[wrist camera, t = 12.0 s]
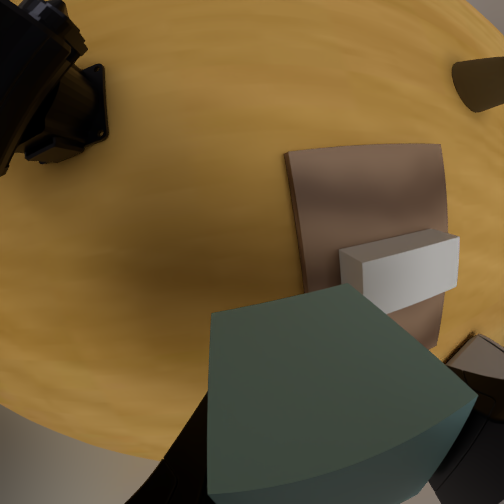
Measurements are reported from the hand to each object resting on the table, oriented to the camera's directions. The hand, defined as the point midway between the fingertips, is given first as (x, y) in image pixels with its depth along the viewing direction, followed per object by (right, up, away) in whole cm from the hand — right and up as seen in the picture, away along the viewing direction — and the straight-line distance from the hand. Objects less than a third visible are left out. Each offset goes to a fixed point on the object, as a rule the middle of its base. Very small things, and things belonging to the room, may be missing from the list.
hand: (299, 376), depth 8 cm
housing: (+9, +3, +11) cm, 15 cm away
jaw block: (0, 0, +1) cm, 1 cm away
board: (+9, +2, +13) cm, 16 cm away
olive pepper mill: (+22, +22, +10) cm, 33 cm away
